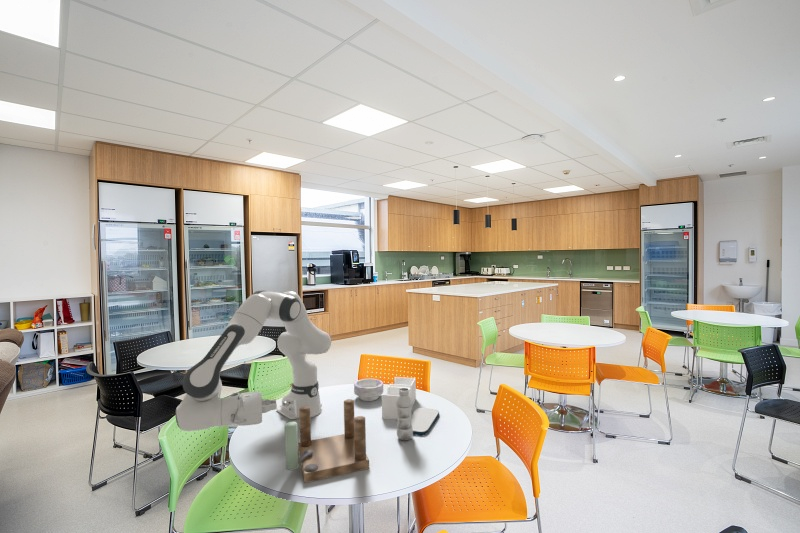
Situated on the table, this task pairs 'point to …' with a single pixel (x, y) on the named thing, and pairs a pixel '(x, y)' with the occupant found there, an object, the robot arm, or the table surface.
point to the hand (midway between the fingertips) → (276, 404)
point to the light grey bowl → (368, 389)
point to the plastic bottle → (404, 415)
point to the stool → (333, 447)
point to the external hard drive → (423, 420)
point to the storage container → (393, 393)
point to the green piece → (293, 447)
